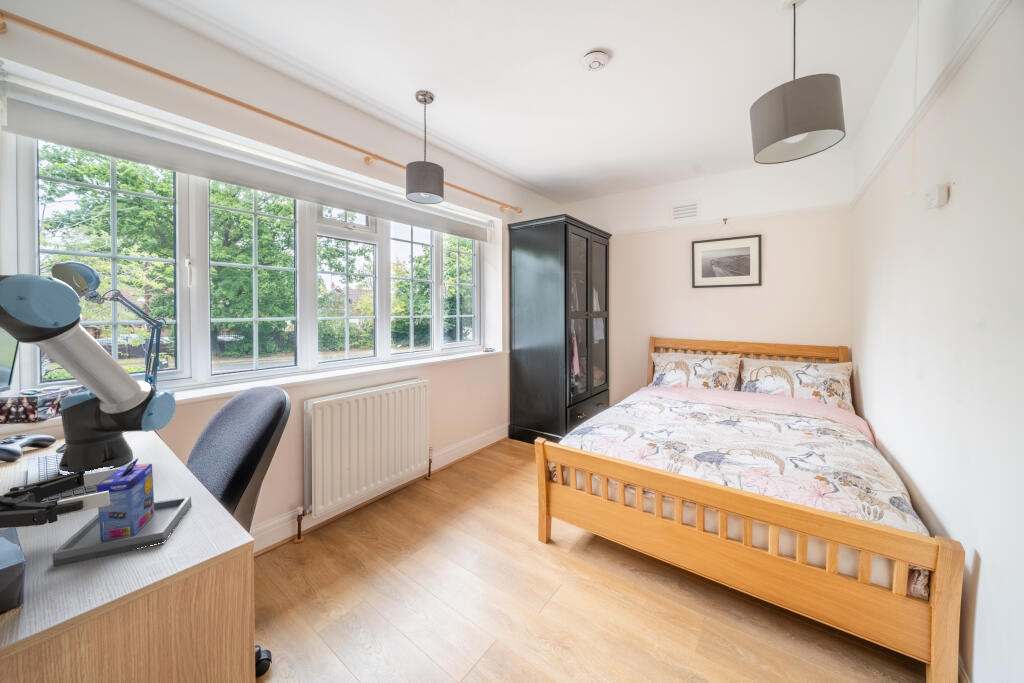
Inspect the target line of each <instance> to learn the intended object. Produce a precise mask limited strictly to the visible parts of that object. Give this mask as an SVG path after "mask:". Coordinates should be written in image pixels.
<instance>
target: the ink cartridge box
mask: <svg viewBox="0 0 1024 683" xmlns="http://www.w3.org/2000/svg"><path fill="white" fill-rule="evenodd" d="M138 461H139V458H138V457H137V458H136V459H134V460H133V461H132V462H130V463H128V465H126V466H120V467H121V468H119V467H118V468H119V469H118V470H117V471H115V472H114V473H113V474H112V475H110V476H108V477H107V478H105V479H104V480H103V481H101V482H100V483H99V484H97V485H96V493H99V492H104V491H109V496H110V505H108V506H103V507H99V508H97V509H98V513H99V525H100V537H101V542H103V541H109V540H116V539H121V538H127V537H132V536H134V535H135V534H136V533H137V532H138V531H139V530H140V529H141V528H142V527H143V526H144V525H145V524H146V523H147V522H148V521H149V520H150V519H151V518H152V517H153V516H154V502H155V501H154V500H155V498H154V496H155V495H154V479H153V478H154V476H153V464H152V463H142V464H141V463H140V464H137V462H138Z"/></svg>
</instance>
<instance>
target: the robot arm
mask: <svg viewBox="0 0 1024 683" xmlns="http://www.w3.org/2000/svg"><path fill="white" fill-rule="evenodd" d="M81 302H82V300H81V298H80V296H79V295H78V293H77V292H76V291H75V290H74V289H73V287H72V286H70V285H69V284H68V283H66V282H64V281H63V280H60V279H58V278H56V277H51V276H46V275H38V274H32V273H31V274H29V273H24V274H23V273H19V274H18V273H17V274H9V275H7V274H0V328H1V329H2V330H4V331H5V332H6V333H8V334H9V335H10V336H11V337H12V338H14V339H15V340H17V342H19V343H22V344H34V345H35V346H36V347H38V348H39V349H40V350H41V351H42V352H43V353H45V355H47V356H48V357H49V358H50V359H52V360H53V361H54V362H55V363H56V364H57V365H59V367H61V368H62V369H63V370H65V371H66V372H67V373H68V374H69V375H70V376H71V377H73V379H75V380H76V381H77V382H78V383H79V384H81V385H82V386H83V387H85V389H87V390H86V391H81V392H77V393H76V392H75V393H71V394H68V395H65V396H64V397H63V398H61V401H60V409H59V410H60V414H61V415H60V416H61V423H62V428H63V436H64V442H65V448H64V449H63V453H62V455H61V458H60V462H59V464H58V470H59V469H60V470H62V471H68V472H74V473H70V474H67V475H60V476H56V477H52V478H49V479H45V480H41V481H36V482H33V483H29V484H24V485H19V486H13V487H11V488H9V491H8V492H5V493H4V494H3V495H0V529H8V528H10V529H11V528H21V527H22V528H23V527H38V526H42V525H45V524H47V523H48V524H53V523H56V522H58V520H59V518H58V516H60V517H61V516H65V515H69V514H75V513H79V512H85V511H89V510H94V509H98V508H99V507H103V506H108V505H110V496H109V491H104V492H99V493H97V492H95V493H89V494H85V495H80V496H74V497H68V498H63V499H59V500H58V501H56V502H57V504H56V503H55V502H54V503H53V502H52V503H51V502H50V503H49V502H42V501H43V500H45V499H48V498H50V497H53V496H56V495H60V494H62V493H65V492H68V491H70V490H73V489H77V488H79V487H83V486H84V488H85V487H86V488H87V487H91V486H97V485H98V484H99V483H100V482H101V481H103V480H104V479H105V478H107V477H108V476H110V475H112V474H113V473H114V472H115V471H117V470H118V469H119V468H121V467H122V466H123V465H126V464H127V463H128V464H129V462H131V461H132V460H133V459H134V452H133V450H132V448H131V446H130V445H129V443H128V441H127V440H126V439H125V437H124V434H123V432H124V433H125V432H129V433H130V432H144V433H145V432H151V431H160V430H162V429H164V428H166V427H167V426H168V425H169V424H170V423H171V421H172V420H173V418H174V416H175V412H176V408H177V404H176V403H177V402H176V399H175V397H174V395H173V394H172V393H170V392H168V391H164V390H163V391H156V389H154V388H153V387H152V386H151V385H150V384H149V383H148V382H146V381H145V380H136V379H135V377H133V376H132V375H131V374H130V373H129V372H128V371H127V370H126V369H125V368H124V367H123V366H122V365H121V363H119V362H118V361H117V360H116V359H115V358H114V357H113V355H111V354H110V353H109V352H108V351H107V349H105V348H104V347H103V346H102V345H101V344H100V343H99V342H98V341H97V340H96V339H95V338H94V337H93V336H92V335H91V334H90V333H89V332H88V331H87V330H86V329H85V327H83V326H82V325H81V322H82V319H83V317H82V314H81V313H82V305H80V303H81ZM110 466H114V467H115V468H112V469H108V470H102V471H96V472H91V473H85V471H90V470H94V469H98V468H103V467H110Z"/></svg>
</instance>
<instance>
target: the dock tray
mask: <svg viewBox="0 0 1024 683" xmlns="http://www.w3.org/2000/svg"><path fill="white" fill-rule="evenodd" d="M189 508H190V509H191V508H192V496H191V495H190V496H183V497H177V498H172V499H166V500H159V501H154V516H153V517H152V518H151V519H150V520H149V521H148V522H147V523H146V524H145V525H144V526H143V527H142V528H141V529H140V530H139V531H138V532H137V533H136V534H135V535H134V536H132V537H127V538H121V539H116V540H109V541H103V542H101V537H100V525H99V512H98V513H97V514H96V515H95V516H93V518H91V519H90V520H89V521H88V522H87V523H86V524H84V525H83V526H82V527H80V529H79V530H77V532H75V533H74V534H73V535H72V536H71V537H70V538H68V539H67V540H66V541H65V542H64V543H63V544H62V545H60V547H58V548H57V549H56V550H55V551H53V552H52V554H51V555H52V562H53V567H57V566H62V565H67V564H72V563H78V562H81V561H87V560H92V559H97V558H102V557H105V556H106V557H107V556H111V555H116V554H121V552H122V553H125V551H126V552H131V551H134V550H133V549H136V550H138V549H137V548H141V547H145V546H150V545H154V544H158V543H162V542H164V541H165V540H166V539H167V538H168V536H169V535H170V533H171V532H172V531H173V529H174V528H175V527H176V525H177V524H178V523H179V521H180V520H181V519H182V517H183V516H184V515H185V516H186V514H187V513H188V512H187V511H189V510H190V509H189ZM188 509H189V510H188ZM186 512H187V513H186ZM185 513H186V514H185ZM185 516H184V517H185ZM184 517H183V518H184ZM182 520H183V519H182ZM182 520H181V521H182ZM181 521H180V522H181ZM179 524H180V523H179ZM179 524H178V525H179ZM178 525H177V526H178ZM176 528H177V527H176ZM176 528H175V529H176ZM173 532H174V531H173ZM173 532H172V533H173ZM170 536H171V535H170ZM170 536H169V537H170ZM168 539H169V538H168ZM168 539H167V540H168ZM141 549H142V548H141ZM130 550H131V551H130Z"/></svg>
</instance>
